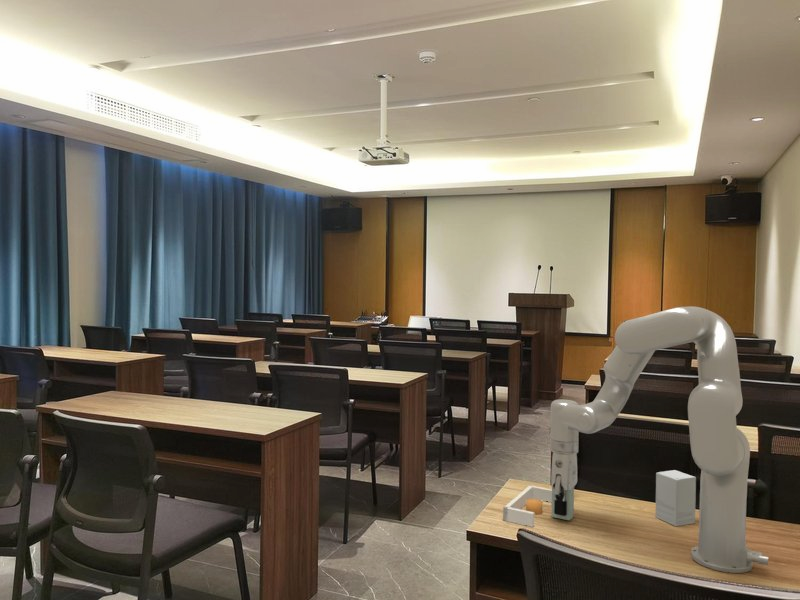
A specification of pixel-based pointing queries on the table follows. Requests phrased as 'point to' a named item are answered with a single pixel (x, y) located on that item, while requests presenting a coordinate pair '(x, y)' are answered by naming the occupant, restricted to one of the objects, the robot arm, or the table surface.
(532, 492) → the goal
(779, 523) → the table surface
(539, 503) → the puck
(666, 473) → the supplement box
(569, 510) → the grey tall block
